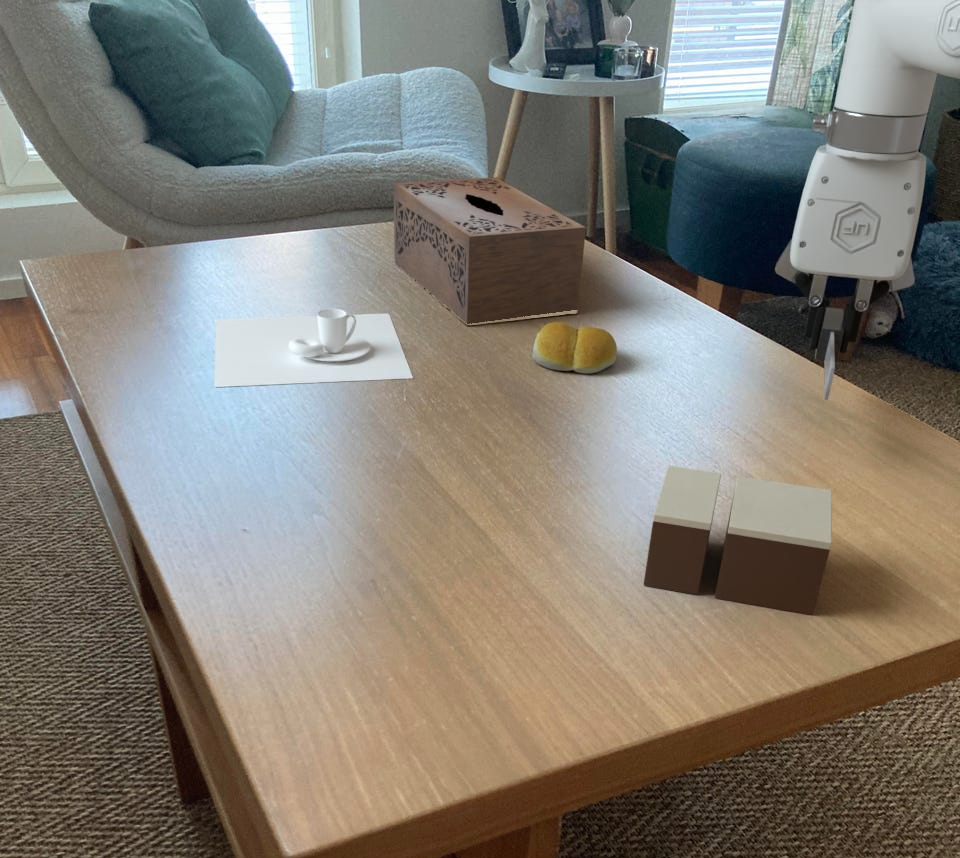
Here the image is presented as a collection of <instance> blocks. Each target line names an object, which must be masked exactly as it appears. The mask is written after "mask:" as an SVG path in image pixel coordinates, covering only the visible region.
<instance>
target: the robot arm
mask: <svg viewBox="0 0 960 858" xmlns="http://www.w3.org/2000/svg"><path fill="white" fill-rule="evenodd" d="M852 7H853V9H852V13H851V18H850V22H849V28H848V33H847V38H846V43H845V49H844V54H843V58H842V64H841V68H840V73H839V79H838V84H837V89H836V95H835V100H834V105H833V108H832V110H828V113H823V114H814V116H813V122H812V126H811V133H819V135H824V136H823V137H824V138H825V139H826V144H822V145H820V146H818V147H817V148H816V151H815V152H814V153H815V154H814V155H813V158H812V160H811V163H810V166H809V168H808V169H809V170H808V173H807V175H806V180H805V183H804V187H803V190H802V194H801V197H800V202H799V206H798V209H797V214H796V219H795V222H794V227H793V233H792V238H791V239H790V241H789V242H788V244H787V245H786V247H785V248H784V250H783V252H782V253H781V255H780V257H779V258H778V260H777V261H776V262H775V265H774V272H775V273H776V274H777V275H778V276H780V277H782V278H784V279H786V280H787V281H789V282H792V283H793V284H795V286H796V287H797V288H798V289H799V291H800V292H801V293H802V294H803V296H804V297H805V299H806V300H807V301H808V304H809V307H808V308H809V309H808V312H807V317H806V321H805V327H804V331H803V338H809V350H811V351H815V349H817V347H818V342H819V338H820V333H821V328H822V326H823V322H824V317H825V312H826V307H827V300H826V294H825V291H826V285H827V281H828V276H832V277H840V278H849V279H851V278H853V279H857V282H856V285H855V290H854V293H853V296H851V297H850V300H849V301H848V303H846V304H845V309H844V312H843V329H844V334H843V339H842V343H841V347H840V352H839V354H846V353H847V350H848V346H849V343H856V342H857V337H858V335H859V329H860V325H861V322H862V317H863V313H864V312H865V311H866V310H867V309H868V308H869V306H871V305H872V304H874V303H875V302H877V301H878V300H879V299H881V298H882V297H884V296H885V295H887V294H888V293H890V292H896V291H900V290H903V289H906V288H910V287H912V286H913V285H914V284H915V282H916V278H915V272H914V267H913V260H912V252H913V247H914V244H915V243H914V242H915V238H916V234H917V229H918V224H919V218H920V213H921V208H922V203H923V196H924V190H925V182H926V171H927V156H926V155H925V154H924V153H922V152H919V149H920V146H921V142H922V138H923V133H924V129H925V125H926V120H927V117H928V112H929V109H930V105H931V100H932V96H933V92H934V89H935V84H936V80H937V76H938V74H939V75H942V76H945V77H948V78H952V79H959V80H960V0H854V2H853V6H852ZM811 274H812V275H811Z"/></svg>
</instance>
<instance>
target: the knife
mask: <svg viewBox="0 0 960 858" xmlns="http://www.w3.org/2000/svg"><path fill="white" fill-rule="evenodd" d="M843 317H844V308H835V307H827V306H826V312H825V317H824V322H823V326H822V328H821V333H820V338H819V342H818V347H817V349H815V350H814V352H815V353H814V360H815V361H820V362H821V361H822V362H824V365H823V367H824V368H823V372H824V373H823V375H824V377H823V378H824V379H823V400H829V396H830V392H831V387H832V383H833V378H834V375H835V371H836V370H835V369H836V363H837V362H838V360H839V356H840V347H841V343H842V339H843V334H844V329H843Z"/></svg>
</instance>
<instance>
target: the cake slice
mask: <svg viewBox="0 0 960 858" xmlns="http://www.w3.org/2000/svg"><path fill="white" fill-rule="evenodd" d="M721 476H722V473H719V472H714V471H707V470H700V469H693V468H687V467H680V466H674V465H668V466H667V470H666V472H665V476H664V480H663V482H662V486H661V489H660V492H659V496H658V500H657V503H656V506H655V510H654V513H653V517H652V525H651V533H650V538H649V546H648V552H647V558H646V564H645V565H646V566H645V571H644V578H643V586H644V587H650V588H656V589H660V590H666V591H672V592H679V593H684V594H690V595H696V596H698V595H699V592H700V587H701V583H702V581H701V580H702V576H703V571H704V566H705V562H706V561H705V560H706V556H707V550H708V546H709V540H710V536H711V530H712V524H713V520H714V514H715V508H716V503H717V499H718V495H719V493H718V492H719V489H720V488H719V487H720V483H721V478H722V477H721Z"/></svg>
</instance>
